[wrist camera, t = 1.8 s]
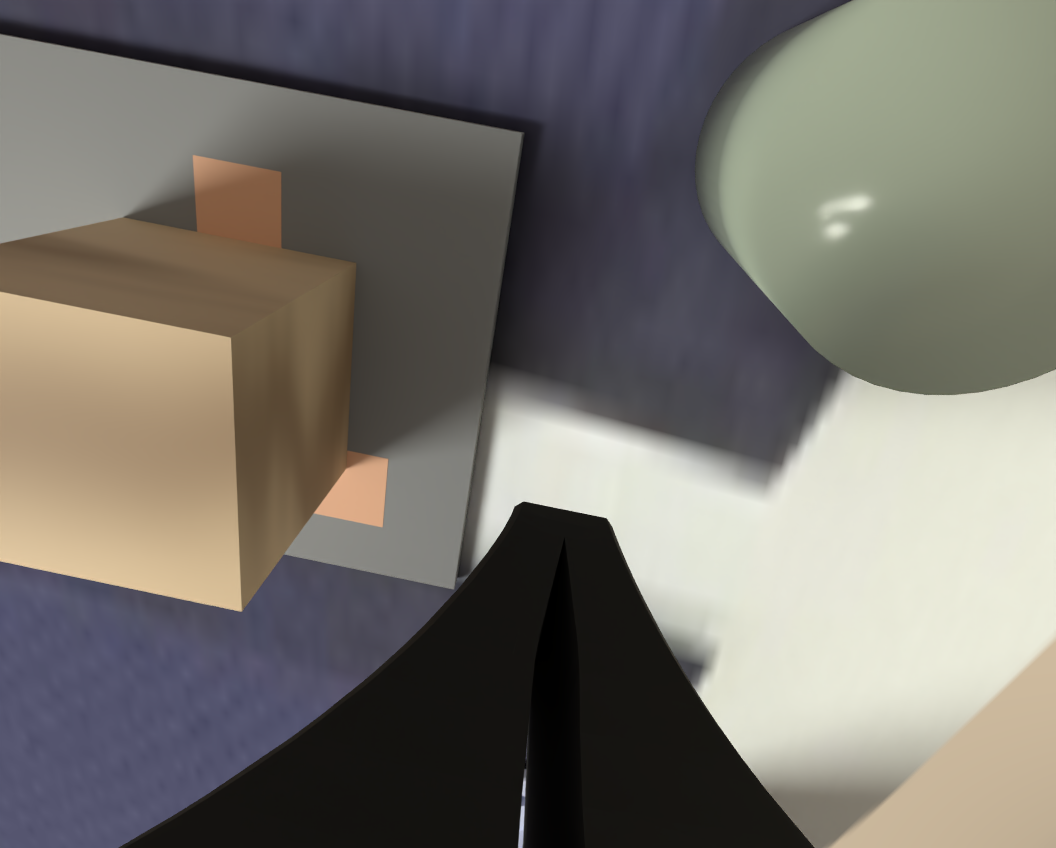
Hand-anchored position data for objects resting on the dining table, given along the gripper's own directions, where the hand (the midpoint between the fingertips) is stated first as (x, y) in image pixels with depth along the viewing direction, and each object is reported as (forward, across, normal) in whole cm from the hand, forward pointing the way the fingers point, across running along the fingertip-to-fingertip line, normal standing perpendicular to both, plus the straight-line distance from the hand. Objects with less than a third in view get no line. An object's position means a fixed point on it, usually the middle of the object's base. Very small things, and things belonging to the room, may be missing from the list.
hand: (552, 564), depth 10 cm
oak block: (+5, +8, 0) cm, 9 cm away
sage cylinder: (+6, -4, -6) cm, 9 cm away
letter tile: (+6, +8, 0) cm, 9 cm away
